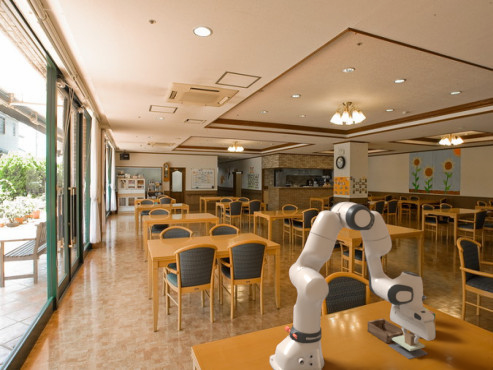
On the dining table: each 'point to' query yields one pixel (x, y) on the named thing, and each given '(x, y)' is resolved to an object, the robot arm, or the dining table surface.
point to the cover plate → (401, 341)
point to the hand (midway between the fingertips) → (410, 340)
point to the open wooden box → (384, 330)
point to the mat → (407, 351)
